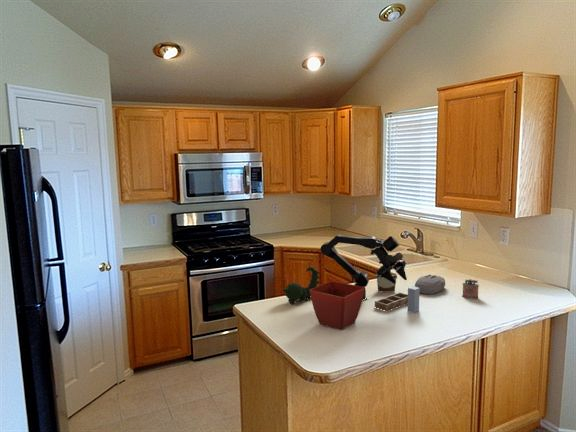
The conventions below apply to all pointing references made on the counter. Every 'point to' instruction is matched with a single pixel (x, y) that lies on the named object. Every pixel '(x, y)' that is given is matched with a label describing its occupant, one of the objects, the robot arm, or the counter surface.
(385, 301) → the slot organizer
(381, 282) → the food container
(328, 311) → the plant pot
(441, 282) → the soft grey pack
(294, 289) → the toy figurine
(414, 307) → the plug block
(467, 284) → the lighter
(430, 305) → the counter surface
